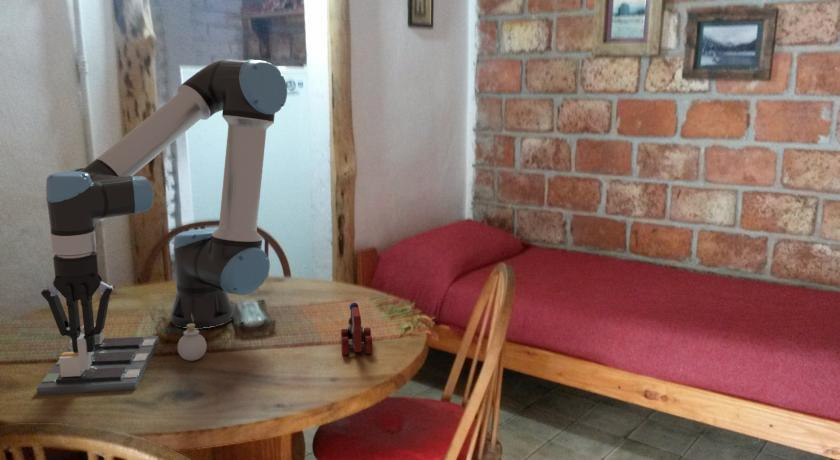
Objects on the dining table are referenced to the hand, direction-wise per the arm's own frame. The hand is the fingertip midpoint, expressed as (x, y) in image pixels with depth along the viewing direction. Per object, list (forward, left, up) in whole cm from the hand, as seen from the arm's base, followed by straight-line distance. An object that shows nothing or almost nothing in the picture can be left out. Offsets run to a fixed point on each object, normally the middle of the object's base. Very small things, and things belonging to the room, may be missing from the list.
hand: (85, 366), depth 135 cm
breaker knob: (+2, 0, -1) cm, 3 cm away
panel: (-1, -8, -4) cm, 9 cm away
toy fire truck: (-55, -11, -4) cm, 56 cm away
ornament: (-19, -10, -4) cm, 22 cm away
